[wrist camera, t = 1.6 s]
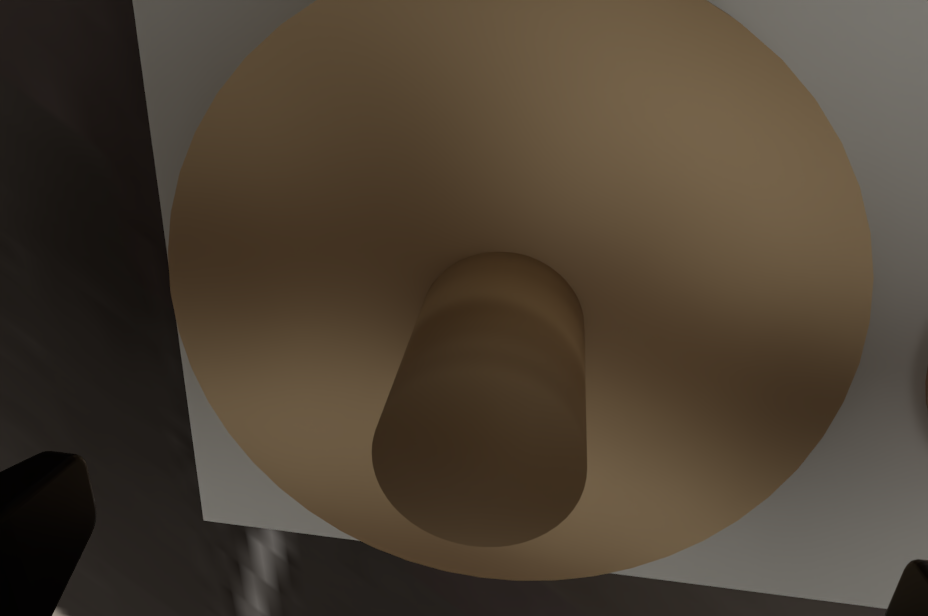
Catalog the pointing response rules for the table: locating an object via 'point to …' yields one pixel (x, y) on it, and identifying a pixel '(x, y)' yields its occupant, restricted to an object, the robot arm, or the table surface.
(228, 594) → the table surface
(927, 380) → the pink glossy dome
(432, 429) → the lid
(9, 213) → the table surface
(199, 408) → the mat
